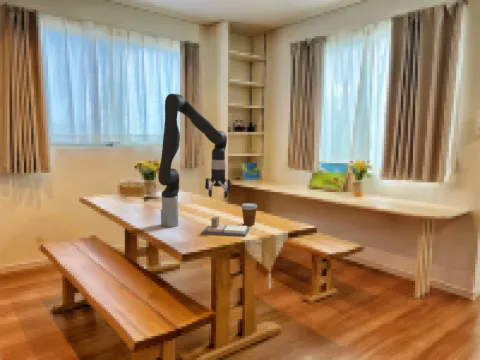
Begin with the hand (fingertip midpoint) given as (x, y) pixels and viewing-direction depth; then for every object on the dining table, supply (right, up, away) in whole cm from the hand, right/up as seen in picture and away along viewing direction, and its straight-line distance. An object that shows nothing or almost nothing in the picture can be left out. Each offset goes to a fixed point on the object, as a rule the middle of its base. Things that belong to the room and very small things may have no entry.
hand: (218, 197), depth 193 cm
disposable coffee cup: (+17, -17, +16) cm, 29 cm away
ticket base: (+4, -19, 0) cm, 19 cm away
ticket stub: (-1, -18, +1) cm, 18 cm away
